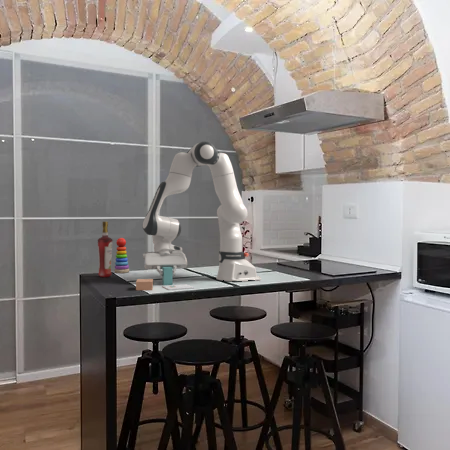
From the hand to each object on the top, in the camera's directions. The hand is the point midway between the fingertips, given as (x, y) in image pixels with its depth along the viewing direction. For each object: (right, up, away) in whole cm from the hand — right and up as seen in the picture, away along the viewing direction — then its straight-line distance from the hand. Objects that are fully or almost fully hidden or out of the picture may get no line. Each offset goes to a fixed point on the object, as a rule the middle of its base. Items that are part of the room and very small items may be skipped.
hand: (167, 274), depth 220 cm
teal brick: (0, -5, +1) cm, 5 cm away
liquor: (-34, -3, +21) cm, 40 cm away
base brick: (-9, -5, -12) cm, 15 cm away
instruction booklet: (+5, -5, -7) cm, 10 cm away
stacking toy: (-29, -3, +37) cm, 48 cm away
